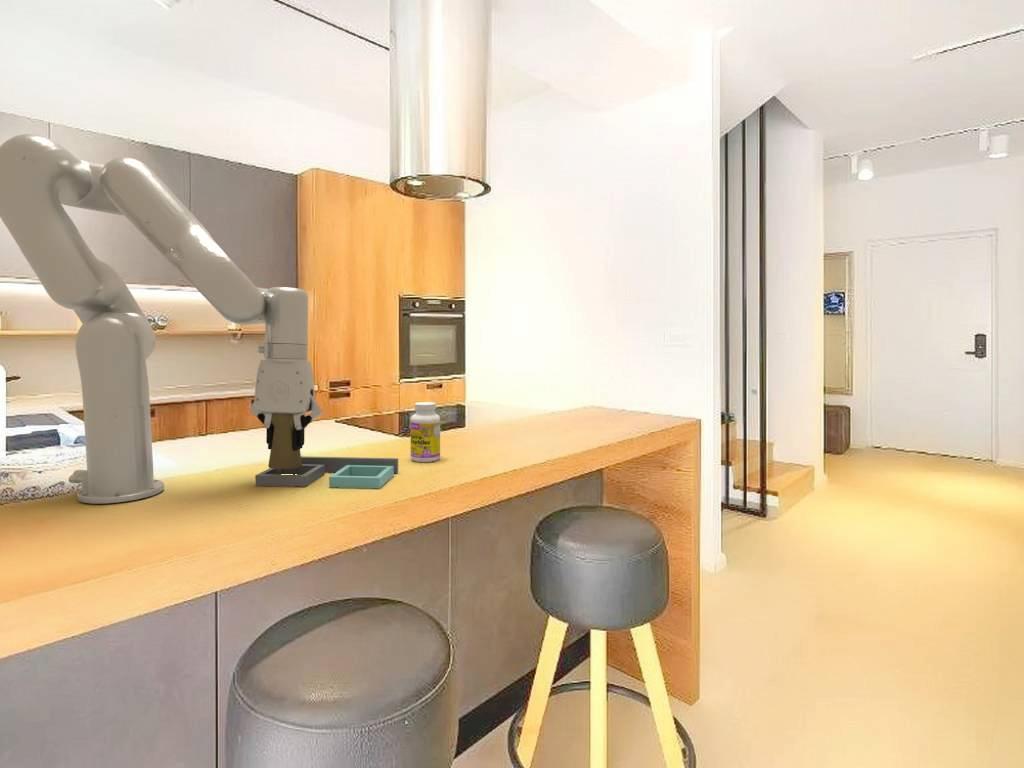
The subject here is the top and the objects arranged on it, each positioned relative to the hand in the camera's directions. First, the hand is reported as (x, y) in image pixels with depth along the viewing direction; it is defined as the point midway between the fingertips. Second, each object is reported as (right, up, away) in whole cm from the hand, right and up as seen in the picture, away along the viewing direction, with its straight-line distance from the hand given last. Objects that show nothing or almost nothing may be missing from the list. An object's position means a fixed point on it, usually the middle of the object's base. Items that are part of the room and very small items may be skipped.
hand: (285, 447), depth 111 cm
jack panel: (+8, -6, +2) cm, 10 cm away
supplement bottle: (+24, -5, +20) cm, 31 cm away
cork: (0, -4, 0) cm, 4 cm away
